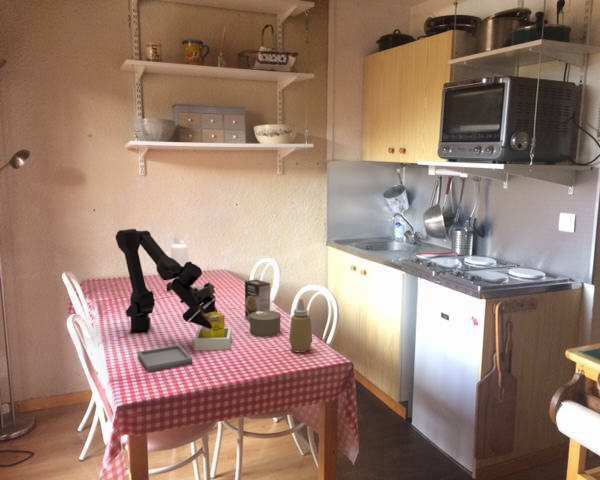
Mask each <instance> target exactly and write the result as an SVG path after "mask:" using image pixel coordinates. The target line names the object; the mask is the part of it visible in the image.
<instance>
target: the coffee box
mask: <svg viewBox="0 0 600 480" xmlns="http://www.w3.org/2000/svg"><path fill="white" fill-rule="evenodd" d="M265 310H266V311H271V283H270V282H267V281H263V280H260V279H251V280H245V281H244V313H245V315H244V316H245V317H244V319H245V320H247V321H249V322H250V317H249V315H250V314H251V313H253V312H256V311H265Z"/></svg>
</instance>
